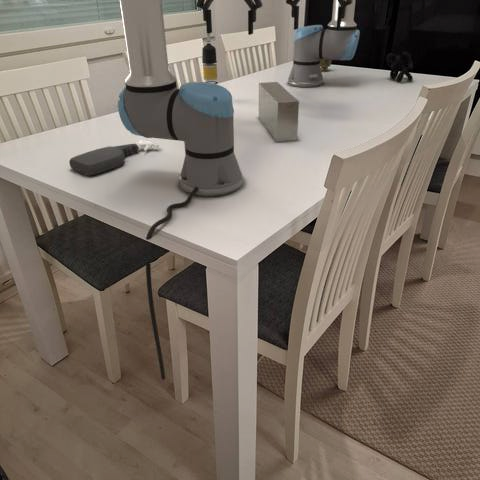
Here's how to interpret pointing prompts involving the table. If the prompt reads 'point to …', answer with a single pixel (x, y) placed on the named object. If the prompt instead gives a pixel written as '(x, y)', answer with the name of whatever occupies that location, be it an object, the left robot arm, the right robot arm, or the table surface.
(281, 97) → the box
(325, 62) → the cup
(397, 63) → the squiggle
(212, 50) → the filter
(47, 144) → the table surface
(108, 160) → the spray bottle
